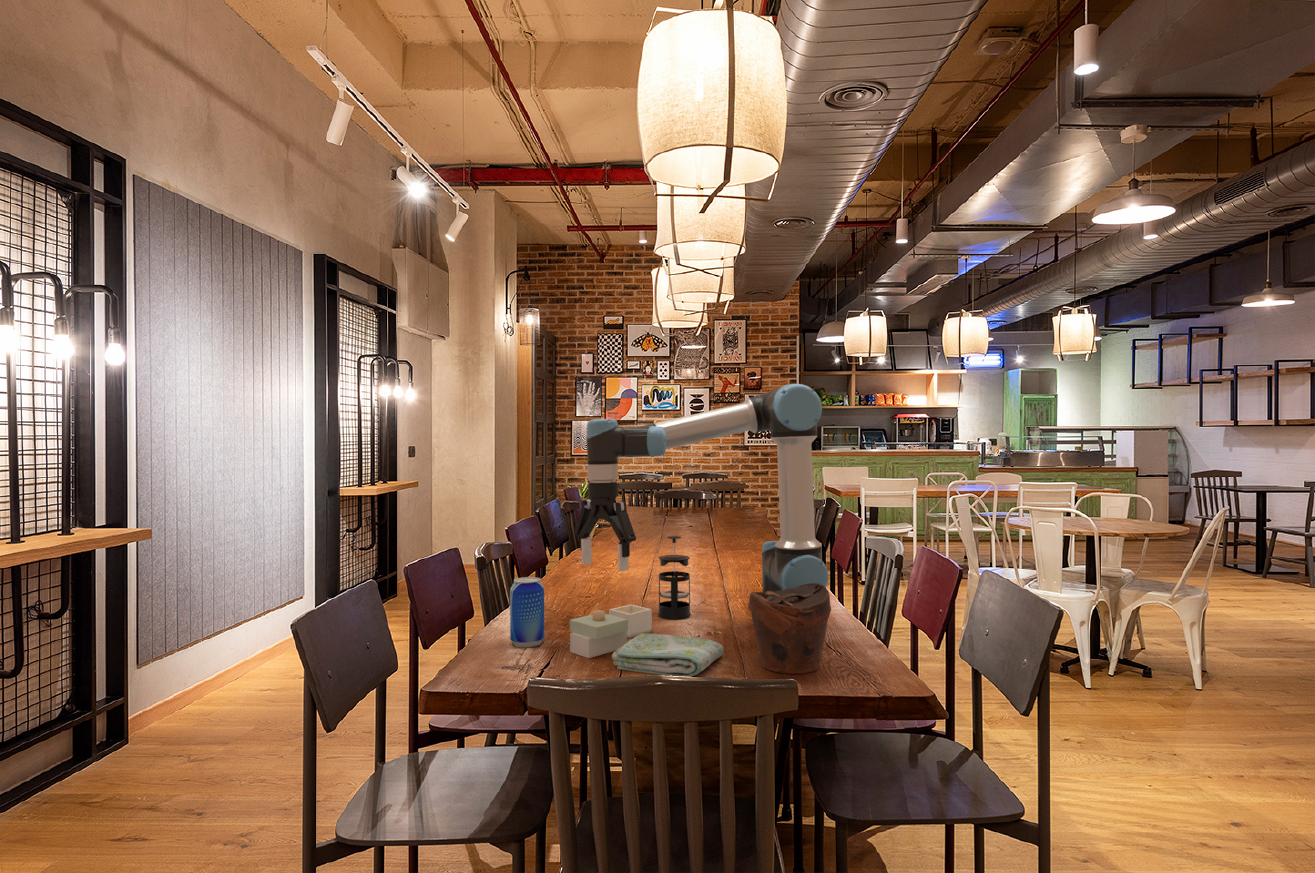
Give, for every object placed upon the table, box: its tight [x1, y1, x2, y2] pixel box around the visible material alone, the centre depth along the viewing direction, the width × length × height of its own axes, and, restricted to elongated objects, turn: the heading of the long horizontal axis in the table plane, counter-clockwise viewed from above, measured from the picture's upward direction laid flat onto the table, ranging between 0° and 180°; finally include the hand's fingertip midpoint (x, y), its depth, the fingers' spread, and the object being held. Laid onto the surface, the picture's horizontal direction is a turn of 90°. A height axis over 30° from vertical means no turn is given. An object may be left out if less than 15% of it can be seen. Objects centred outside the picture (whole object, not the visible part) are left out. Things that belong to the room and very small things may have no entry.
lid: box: [569, 609, 628, 639], centre depth 173 cm, size 10×10×5 cm
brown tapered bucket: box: [747, 583, 832, 675], centre depth 160 cm, size 18×20×18 cm
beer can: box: [509, 576, 545, 648], centre depth 178 cm, size 8×8×16 cm
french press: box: [657, 535, 692, 621], centre depth 206 cm, size 12×9×23 cm
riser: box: [569, 631, 628, 659], centre depth 173 cm, size 7×12×4 cm, turn 135°
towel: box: [611, 633, 725, 677], centre depth 163 cm, size 18×21×5 cm
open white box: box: [608, 604, 653, 639], centre depth 188 cm, size 8×8×6 cm
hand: (604, 567), depth 176 cm, fingers open, 13 cm apart
